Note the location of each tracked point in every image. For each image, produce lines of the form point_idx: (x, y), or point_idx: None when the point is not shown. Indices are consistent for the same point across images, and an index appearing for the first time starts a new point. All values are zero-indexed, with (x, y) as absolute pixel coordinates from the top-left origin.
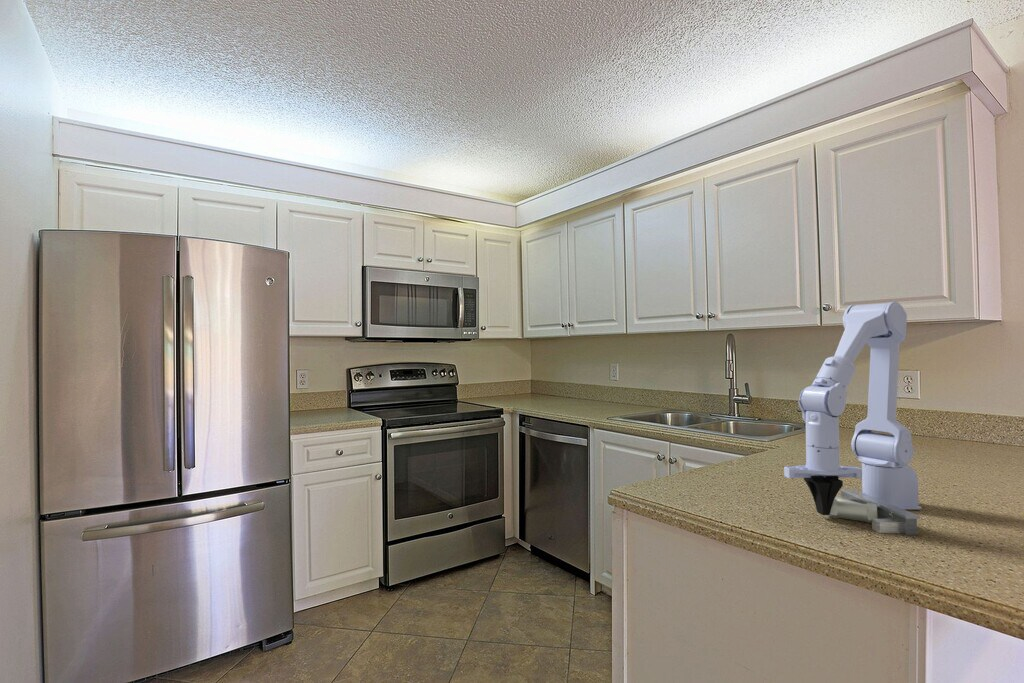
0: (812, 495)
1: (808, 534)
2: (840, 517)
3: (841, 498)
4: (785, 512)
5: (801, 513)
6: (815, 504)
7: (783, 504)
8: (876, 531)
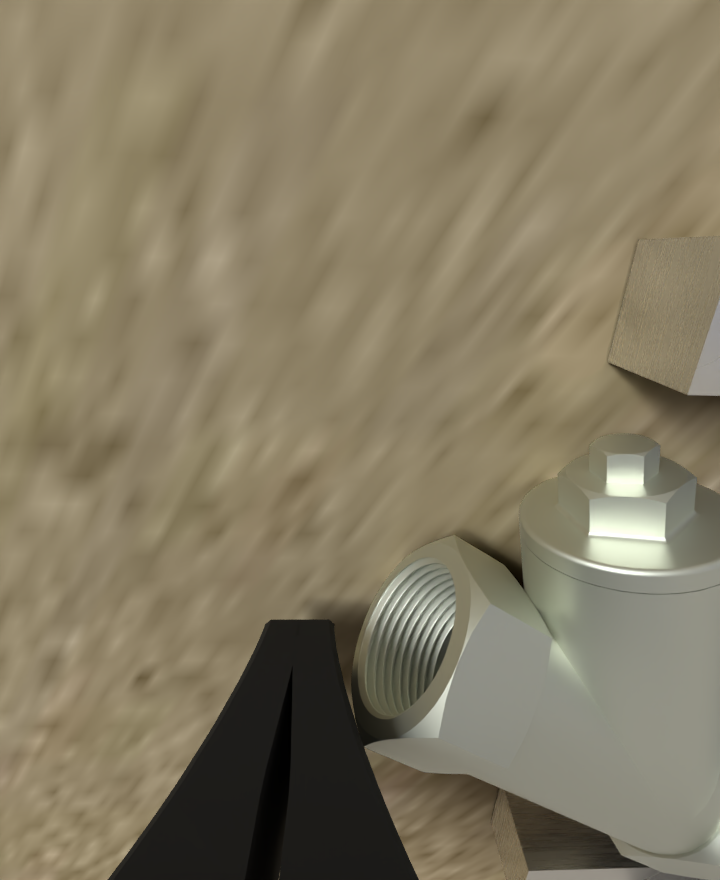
0: (177, 784)
1: (35, 838)
2: (448, 640)
3: (686, 627)
4: (8, 451)
5: (175, 484)
6: (242, 675)
7: (87, 108)
8: (496, 803)
